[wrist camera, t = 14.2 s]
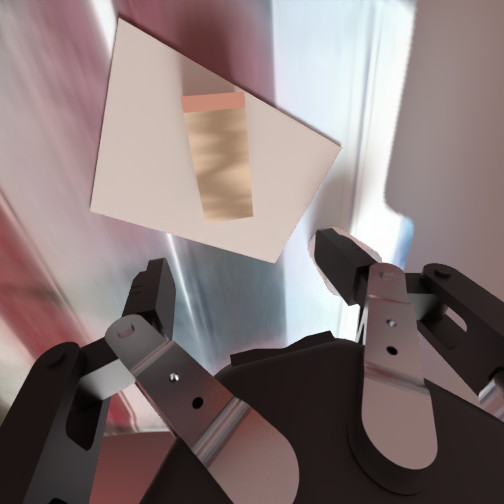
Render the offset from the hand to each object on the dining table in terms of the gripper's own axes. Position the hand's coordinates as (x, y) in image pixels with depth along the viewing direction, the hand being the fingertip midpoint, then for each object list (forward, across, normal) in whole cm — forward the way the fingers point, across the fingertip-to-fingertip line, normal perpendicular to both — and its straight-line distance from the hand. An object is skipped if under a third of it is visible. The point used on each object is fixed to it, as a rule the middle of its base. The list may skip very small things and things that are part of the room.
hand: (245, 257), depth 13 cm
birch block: (+13, 0, +3) cm, 13 cm away
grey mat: (+15, 0, 0) cm, 15 cm away
